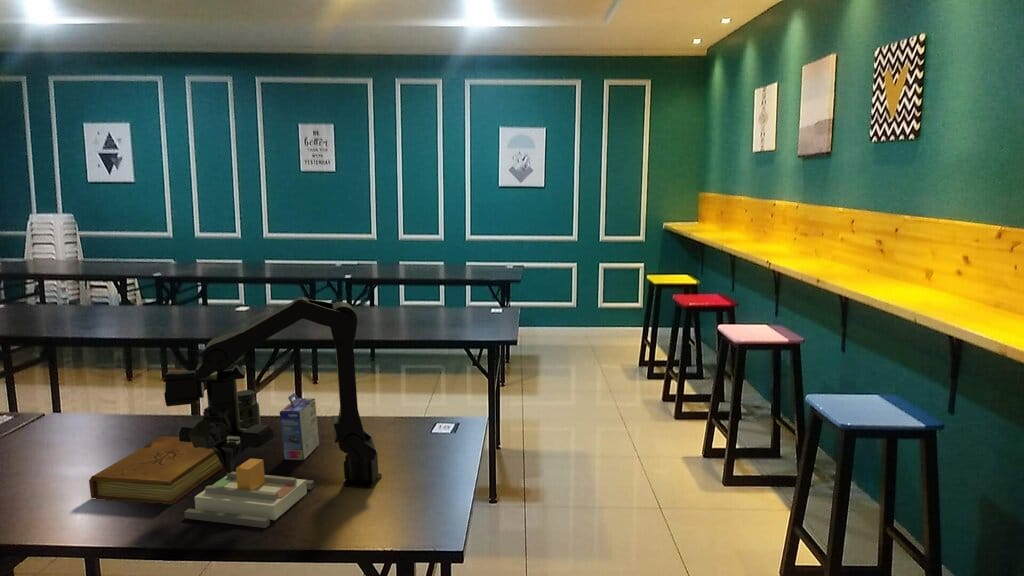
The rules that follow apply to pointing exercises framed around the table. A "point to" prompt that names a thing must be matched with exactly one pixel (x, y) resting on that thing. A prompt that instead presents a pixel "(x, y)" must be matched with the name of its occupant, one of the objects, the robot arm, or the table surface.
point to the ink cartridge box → (299, 428)
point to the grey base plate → (233, 515)
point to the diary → (156, 473)
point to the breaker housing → (252, 496)
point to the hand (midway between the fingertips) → (229, 472)
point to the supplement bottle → (248, 409)
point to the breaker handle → (250, 474)
